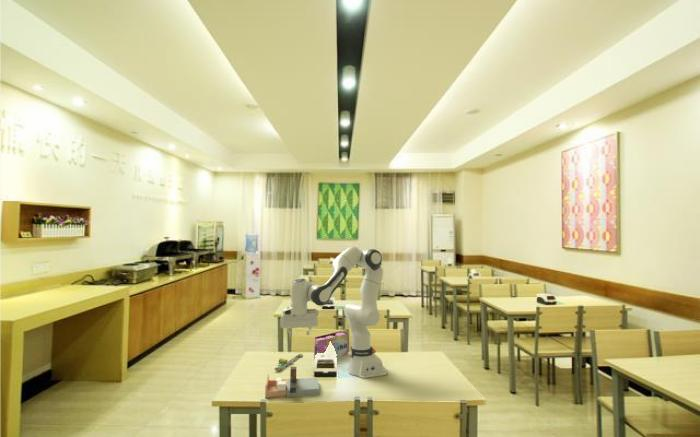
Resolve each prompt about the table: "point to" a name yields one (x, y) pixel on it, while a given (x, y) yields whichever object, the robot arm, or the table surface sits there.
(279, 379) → the tile
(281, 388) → the tile
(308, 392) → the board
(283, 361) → the flamethrower
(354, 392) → the table surface
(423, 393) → the table surface
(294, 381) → the scraper
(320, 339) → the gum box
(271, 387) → the box
